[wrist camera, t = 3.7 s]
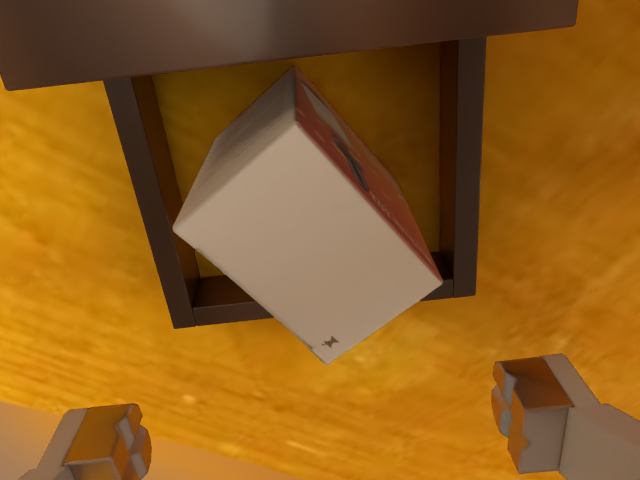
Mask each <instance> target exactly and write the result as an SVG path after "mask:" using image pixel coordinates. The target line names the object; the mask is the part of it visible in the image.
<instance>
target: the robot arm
mask: <svg viewBox="0 0 640 480" xmlns="http://www.w3.org/2000/svg"><path fill="white" fill-rule="evenodd" d="M493 377H494V379H495V381H496V383H497V385H496V386H495V387H494V388H493V390H492V400H491V402H492V409H493V415H494V418H495V421H496V424H497V426H498V429H499V431H500V433H502V434H503V435H505V436H506V437H508V451H509V453H510V455H511V457H512V459H513V461H514V464H515V466H516V468H517V470H518V472H519V474H524V473H535V472H547V471H558V470H559V473H560V474H561V475H563V476H564V477H565V478H566V479H567V480H640V421H639V420H637V419H635V418H634V417H632V416H630V415H628V414H626V413H624V412H622V411H621V410H619V409H617V408H615V407H613V406H611V405H609V404H600V402H599V401H598V399H597V398H596V397H595V395H594V394H593V393H592V391H591V390H590V388H589V387H588V386H587V384H586V383H585V382H584V380H583V379H582V377H581V376H580V375H579V373H578V372H577V371H576V369H575V368H574V366H573V365H572V364H571V362H570V361H569V360H568V358H567V357H566V356H565V355H563V354H562V353H559V354H552V355H544V356H539V357H531V358H522V359H514V360H506V361H498V362H495V364H494V367H493ZM141 419H142V413H141V411H140V408H139V406H138V405H137V404H134V403H132V404H121V405H110V406H99V407H91V408H82V409H71V410H69V411H67V412H66V413H65V414H64V415H63V417H62V419H61V421H60V423H59V425H58V427H57V429H56V431H55V433H54V435H53V437H52V439H51V441H50V443H49V445H48V447H47V449H46V451H45V453H44V455H43V457H42V459H41V461H40V463H39V465H38V467H37V469H33V470H29V471H28V472H26V473H25V474H24V475H23V476H21V477H20V478H19V479H18V480H141V479H142V478H143V477H144V476H145V475H146V474H147V473H148V471H149V466H150V463H151V449H152V447H151V440H150V436H149V433H148V430H147V429H145V428H144V427H143V426H141V425H140V422H141Z"/></svg>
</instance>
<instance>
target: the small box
mask: <svg viewBox="0 0 640 480" xmlns="http://www.w3.org/2000/svg"><path fill="white" fill-rule="evenodd" d="M173 232H174V233H176V234H177V235H178V236H179V237H180V238H182V239H183V240H184V241H186V242H187V243H188V244H189V245H191V246H192V247H193V248H194V249H196V250H197V251H198V252H200V253H201V254H202V255H203V256H204V257H206V258H207V259H208V260H209V261H210V262H212V263H213V264H214V265H215V266H216V267H218V268H219V269H220V270H221V271H222V272H223V273H224V274H226V275H227V276H228V277H229V278H230V279H231V280H233V281H234V282H235V283H236V284H237V285H238V286H240V287H241V288H242V289H243V290H244V291H245V292H246V293H247V294H249V295H250V296H251V297H252V298H253V299H254V300H256V301H257V302H258V303H259V304H260V305H261V306H262V307H264V308H265V309H266V310H267V311H268V312H269V313H270V314H272V315H273V316H274V317H275V318H276V319H277V320H278V321H280V322H281V323H282V324H283V325H284V326H285V327H286V328H287V329H289V330H290V331H291V332H292V333H293V334H294V335H295V336H296V337H297V338H298V339H299V340H301V341H302V342H303V343H304V344H305V345H306V346H307V347H308V348H309V349H310V350H311V351H312V352H313V353H314V354H315V355H316V356H317V357H318V358H319V359H320V360H321V361H322V362H323V363H324V364H326V365H328V364H330V363H331V362H332V361H334V360H335V359H337V358H338V357H340V356H341V355H343V354H344V353H345V352H347V351H349V350H350V349H351V348H353V347H354V346H356V345H357V344H358V343H360V342H361V341H363V340H364V339H366V338H367V337H368V336H370V335H371V334H373V333H374V332H376V331H377V330H378V329H380V328H381V327H383V326H384V325H385V324H387V323H388V322H390V321H391V320H392V319H394V318H395V317H397V316H398V315H400V314H401V313H403V312H404V311H405V310H407V309H408V308H410V307H411V306H413V305H414V304H415V303H417V302H418V301H420V300H421V299H422V298H424V297H425V296H427V295H428V294H429V293H430V292H432V291H433V290H434V289H436V288H438V287H439V286H440V285H442V283H443V280H442V278H441V276H440V274H439V272H438V269H437V267H436V265H435V263H434V261H433V259H432V256H431V254H430V252H429V250H428V248H427V245H426V243H425V241H424V239H423V237H422V234H421V232H420V230H419V228H418V225H417V223H416V221H415V219H414V217H413V215H412V212H411V210H410V208H409V206H408V203H407V201H406V199H405V197H404V195H403V193H402V191H401V189H400V186H399V184H398V182H397V180H396V178H395V177H394V176H393V175H392V174H391V173H390V172H389V171H388V169H387V168H386V167H385V166H384V165H383V164H382V163H381V162H380V161H379V160H378V159H377V158H376V157H375V155H374V154H373V153H372V152H371V151H370V150H369V149H368V148H367V147H366V145H365V144H364V143H363V142H362V141H361V140H360V139H359V137H358V136H357V135H356V134H355V133H354V131H353V130H352V129H351V128H350V127H349V126H348V124H347V123H346V122H345V121H344V120H343V118H342V117H341V116H340V115H339V114H338V113H337V111H336V110H335V109H334V108H333V107H332V106H331V104H330V103H329V102H328V101H327V100H326V99H325V97H324V96H323V95H322V94H321V93H320V92H319V90H318V89H317V88H316V87H315V86H314V85H313V83H312V82H311V81H310V80H309V79H308V78H307V77H306V75H305V74H304V73H303V72H302V71H301V70H300V68H299V67H297V66H293V67H292V68H291V69H289V70H288V71H287V72H286V73H285V74H284V75H283V76H282V77H280V78H279V79H278V80H277V81H276V82H275V83H274V84H273V85H272V86H271V87H269V88H268V89H267V90H266V91H265V92H264V93H263V94H262V95H261V96H260V97H259V98H258V99H257V100H255V101H254V102H253V103H252V104H251V105H250V106H249V107H248V108H247V109H246V110H245V111H244V112H243V113H241V114H240V115H239V116H238V117H237V118H236V119H235V120H234V121H233V122H232V123H231V124H230V125H229V126H228V127H227V128H225V129H224V130H223V131H222V132H221V133H220V134H219V135H218V136H217V137H216V138H215V140H214V143H213V145H212V147H211V148H210V151H209V153H208V155H207V157H206V159H205V161H204V163H203V165H202V167H201V169H200V171H199V173H198V175H197V177H196V179H195V181H194V183H193V185H192V188H191V190H190V192H189V194H188V196H187V198H186V200H185V202H184V204H183V206H182V208H181V211H180V213H179V215H178V217H177V219H176V221H175V223H174V225H173Z"/></svg>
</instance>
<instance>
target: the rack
mask: <svg viewBox="0 0 640 480" xmlns="http://www.w3.org/2000/svg"><path fill="white" fill-rule="evenodd" d="M577 8H578V0H0V75H1V78H2V80H3V83H4V86H5V88H6V90H8V91H15V90H23V89H32V88H41V87H50V86H58V85H67V84H76V83H85V82H93V81H102V80H103V82H104V86H105V89H106V93H107V96H108V100H109V103H110V107H111V110H112V114H113V117H114V121H115V124H116V128H117V131H118V135H119V138H120V141H121V145H122V148H123V152H124V155H125V159H126V162H127V166H128V169H129V173H130V176H131V180H132V183H133V187H134V190H135V194H136V197H137V201H138V204H139V208H140V211H141V215H142V218H143V222H144V225H145V229H146V232H147V236H148V239H149V243H150V246H151V250H152V253H153V257H154V260H155V264H156V267H157V271H158V274H159V278H160V281H161V285H162V288H163V292H164V295H165V299H166V302H167V306H168V309H169V313H170V316H171V320H172V323H173V327H174V329H178V328H187V327H195V326H196V325H197V326H203V325H212V324H221V323H230V322H239V321H248V320H257V319H266V318H275V317H274V316H273V315H272V314H270V313H269V312H268V311H267V310H266V309H265V308H264V307H262V306H261V305H260V304H259V303H258V302H257V301H256V300H254V299H253V298H252V297H251V296H250V295H249V294H247V293H246V292H245V291H244V290H243V289H242V288H241V287H240V286H238V285H237V284H236V283H235V282H234V281H233V280H231V279H230V278H229V277H228V276H227V275H226V276H217V277H208V278H201V279H200V275H199V271H198V267H197V263H196V259H195V255H194V251H193V247H192V246H191V245H189V244H188V243H187V242H186V241H184V240H183V239H182V238H180V237H179V236H178V235H177V234H176V233H174V232H173V225H174V223H175V221H176V219H177V217H178V215H179V213H180V211H181V208H182V206H183V205H182V201H181V197H180V193H179V189H178V185H177V181H176V177H175V173H174V169H173V165H172V160H171V156H170V152H169V148H168V144H167V140H166V136H165V132H164V128H163V124H162V119H161V115H160V111H159V107H158V103H157V99H156V95H155V91H154V87H153V83H152V79H151V75H155V74H163V73H172V72H181V71H190V70H198V69H207V68H216V67H225V66H233V65H242V64H251V63H260V62H268V61H277V60H286V59H295V58H303V57H312V56H321V55H330V54H338V53H347V52H356V51H365V50H373V49H382V48H391V47H400V46H408V45H417V44H426V43H435V42H440V245H439V252H432V253H430V254H431V256H432V259H433V261H434V263H435V265H436V267H437V269H438V272H439V274H440V276H441V278H442V280H443V283H442V285H440V286H439V287H438V288H436V289H434V290H433V291H432V292H430V293H429V294H428V295H427V296H425V297H424V298H422V299H421V300H420V301H428V300H437V299H446V298H452V297H453V298H457V297H466V296H475V295H476V274H477V250H478V226H479V203H480V179H481V155H482V131H483V108H484V84H485V60H486V37H487V36H496V35H505V34H513V33H522V32H531V31H540V30H548V29H557V28H566V27H573V26H575V24H576V17H577ZM418 302H419V301H418Z"/></svg>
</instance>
